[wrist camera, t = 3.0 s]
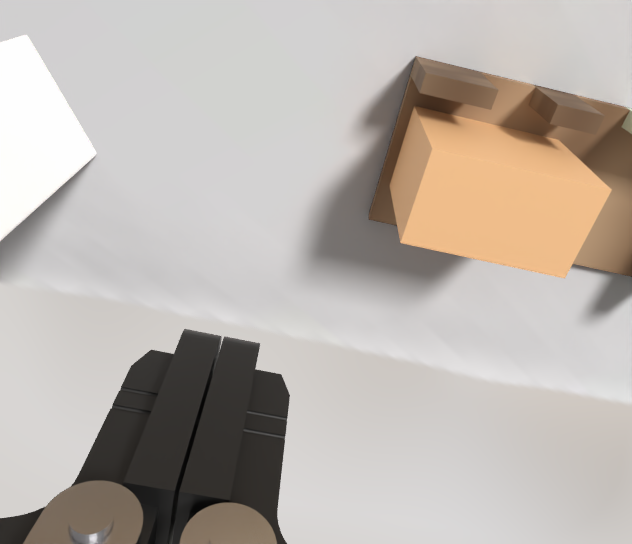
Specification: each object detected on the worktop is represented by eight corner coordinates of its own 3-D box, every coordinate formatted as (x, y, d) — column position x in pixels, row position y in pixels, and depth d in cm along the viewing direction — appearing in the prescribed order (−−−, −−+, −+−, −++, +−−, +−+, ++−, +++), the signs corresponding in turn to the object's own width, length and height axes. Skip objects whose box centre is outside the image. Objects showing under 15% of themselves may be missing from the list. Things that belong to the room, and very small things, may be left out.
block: (558, 140, 26) (611, 190, 21) (523, 215, 28) (564, 278, 23) (414, 105, 26) (432, 148, 20) (389, 185, 28) (400, 243, 22)
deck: (744, 136, 26) (797, 161, 23) (655, 277, 30) (690, 315, 27) (415, 56, 25) (425, 72, 22) (368, 215, 29) (371, 247, 26)
